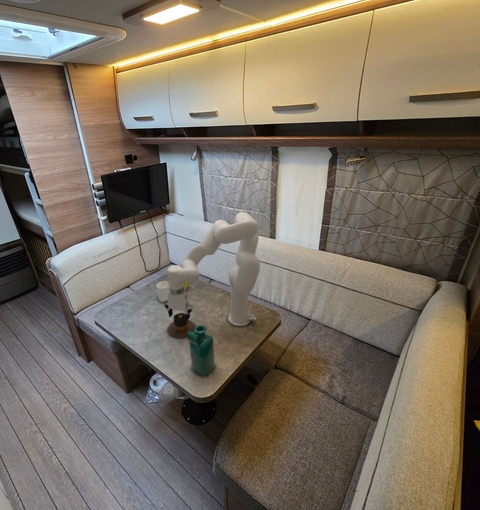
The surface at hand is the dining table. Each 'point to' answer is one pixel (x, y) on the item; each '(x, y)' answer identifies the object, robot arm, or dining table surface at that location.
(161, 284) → the mug
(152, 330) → the dining table surface
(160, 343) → the dining table surface
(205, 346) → the green bottle
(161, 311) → the dining table surface
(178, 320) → the tape roll
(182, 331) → the stand
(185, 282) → the supplement box
